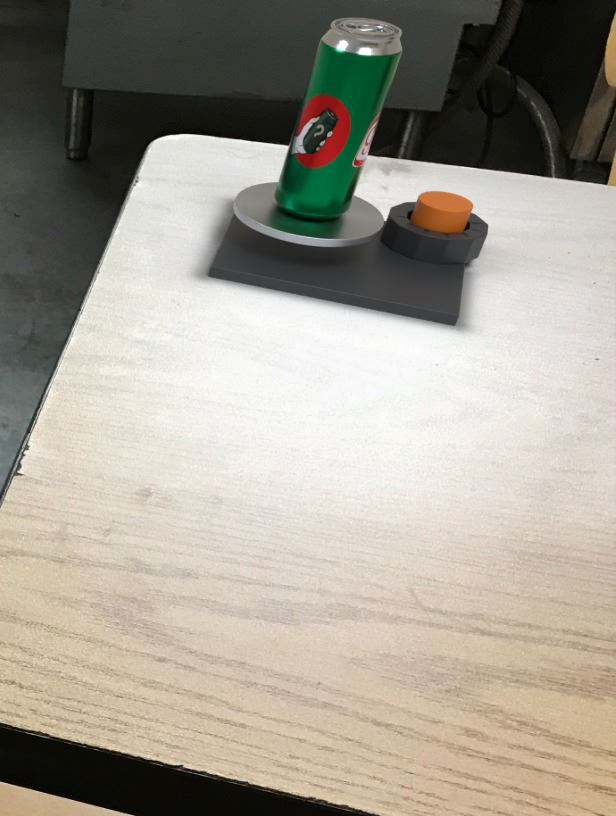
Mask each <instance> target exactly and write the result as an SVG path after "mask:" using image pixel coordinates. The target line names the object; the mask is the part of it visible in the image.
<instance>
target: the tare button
mask: <svg viewBox="0 0 616 816" xmlns="http://www.w3.org/2000/svg"><path fill="white" fill-rule="evenodd" d="M415 202H416V205H415V207H414V210H413V213H412V215H411V218H410V221H411V222H412V223H413V224H415V225H418V226H421V227H423V228H426V229H428V230H434V231H440V232H445V233H451V232H463V231H464V229H465V227H466V224H467V222H468V219H469V217H470V214H471V213H472V211H473V209H474V203H473V202H472V201H471V200H470V199H468V198H466V197H465V196H462V195H459V194H457V193H453V192H450V191H449V192H448V191H441V190H429V191H424V192H421V193H420V194H419V195H418V197H417V199H416V201H415Z"/></svg>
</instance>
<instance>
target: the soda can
mask: <svg viewBox="0 0 616 816" xmlns="http://www.w3.org/2000/svg"><path fill="white" fill-rule="evenodd" d="M402 35H403V31H402V29H401V28H400V27H398V26H397V25H394V24H392V23H390V22H388V21H387V22H386V21H383V20H379V19H373V18H366V17H342V18H337V19H334V20H333V21H331V24H330V29H329V30H328V31H327V32H326V33H325V34H324V35H323V36H322V37H321V38H320V40H319V44H318V46H317V50H316V53H315V56H314V59H313V63H312V67H311V69H310V73H309V77H308V80H307V84H306V87H305V91H304V94H303V97H302V100H301V103H300V107H299V110H298V114H297V117H296V120H295V124H294V128H293V130H292V133H291V137H290V141H289V144H288V147H287V150H286V154H285V158H284V161H283V164H282V167H281V171H280V174H279V178H278V180H277V182H278V184H277V187H276V191H275V194H274V198H275V200H276V202H277V204H278V206H279V208H280V209H281V210H282V211H284V212H285V213H287V214H289V215H291V216H294V217H297V218H301V219H306V220H312V221H327V220H332V219H336V218H338V217H339V216H341V215H342V214H344V213H345V212H346V211H348V210H349V208H350V205H351V202H352V199H353V196H354V195H355V192H356V190H357V187H358V184H359V181H360V179H361V175H362V173H363V169H364V166H365V164H366V161H367V157H368V154H369V152H370V149H371V146H372V143H373V139H374V137H375V134H376V132H377V128H378V126H379V125H378V124H379V122H380V119H381V116H382V113H383V110H384V107H385V104H386V101H387V98H388V96H389V92H390V89H391V87H392V84H393V82H394V81H393V80H394V78H395V74H396V72H397V69H398V65H399V62H400V60H401V57H402V54H403V47H402V42H401V39H400V38H401V37H402Z"/></svg>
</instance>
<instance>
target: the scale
mask: <svg viewBox="0 0 616 816" xmlns="http://www.w3.org/2000/svg"><path fill="white" fill-rule="evenodd" d="M416 202H417V201H405V202H402V203H399V204H397V205H393V206H391V207H390V209H389V210H388V211H389V212H388V214H387V217H386V219H385V220H384V226H383V228H382V231H381V233H380V235H379V236H378V237H377V238H375V239H374V240H372V241H370V242H368V243H365V244H362V245H357V246H350V247H316V246H307V245H301V244H295V243H291V242H287V241H283V240H279V239H276V238H273V237H270V236H267V235H265V234H262V233H260V232H258V231H256V230H254V229H252V228H250V227H248V226H247V225H246V224H244V223H243V222H242V221H241V220H240V219H238V217H237V216H236V215H235V212H233V215H232V217H231V220H230V222H229V224H228V226H227V229H226V230H225V232H224V235H223V238H222V240H221V241H220V244H219V246H218V249H217V250H216V253H215V255H214V257H213V260H212V262H211V264H210V267H209V270H208V274H207V277H209V278H213V279H218V280H222V281H227V282H233V283H237V284H241V285H248V286H253V287H257V288H262V289H268V290H272V291H277V292H282V293H287V294H292V295H296V296H303V297H306V298H311V299H317V300H322V301H327V302H332V303H336V304H342V305H346V306H352V307H357V308H361V309H366V310H373V311H377V312H383V313H387V314H390V315H391V314H392V315H395V316H396V315H398V316H400V317H401V316H402V317H406V318H412V319H416V320H422V321H426V322H431V323H437V324H442V325H446V326H450V327H451V326H452V327H456V325H457V322H458V320H459V317H460V310H461V303H462V294H463V285H464V278H465V277H464V276H465V268H466V263H468V262H471V261H473V260H476V259H478V258H479V256H480V254H481V251H482V250H483V249H482V248H483V246H484V244H485V242H486V239H487V237H488V235H489V224H488V223H487V222H486V221H485V220H483V219H482V218H481V217H480V216H479V215H477V214H476V213H473V212H471V214H470V217H469V219H468V222H467V224H466V227H465V229H464V231H463V232H451V233H445V232H440V231H434V230H428V229H426V228H423V227H421V226H418V225H415V224H413V223H412V222H411V221H410V218H411V215H412V213H413V210H414V207H415V205H416Z"/></svg>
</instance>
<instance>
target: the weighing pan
mask: <svg viewBox="0 0 616 816" xmlns="http://www.w3.org/2000/svg"><path fill="white" fill-rule="evenodd" d="M277 184H278V181H271V182H263V183H258V184H254V185H253V184H252V185H251V186H248V187H245V188H244V189H242V190H240V191H239V192H238V193H237V194H236V196H235V200H234V203H233V206H232V207H233V213H235V215H236V216H237V217H238V219H240V220H241V221H242V222H243V223H244V224H246V225H247V226H248V227H250V228H252V229H254V230H256V231H258V232H260V233H262V234H265V235H267V236H270V237H273V238H276V239H279V240H283V241H287V242H291V243H295V244H301V245H307V246H316V247H350V246H357V245H362V244H365V243H368V242H370V241H372V240H374V239H375V238H377V237H378V236H379V235H380V233H381V231H382V228H383V226H384V221H385V218H384V215H383V213H382V212H381V211H380V210H379V209H378V208H377V207H375V205H374V204H372V203H370V202H369V201H367V200H365V199H364V198H361V197H359V196H357V195H355V194H354V196H353V199H352V202H351V205H350V208H349V210H348V211H346V212H345V213H344V214H342V215H341V216H339V217H338V218H336V219H332V220H327V221H312V220H306V219H301V218H297V217H294V216H291V215H289V214H287V213H285V212H284V211H282V210H281V209H280V208H279V206H278V204H277V202H276V200H275V198H274V194H275V191H276V187H277Z"/></svg>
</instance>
